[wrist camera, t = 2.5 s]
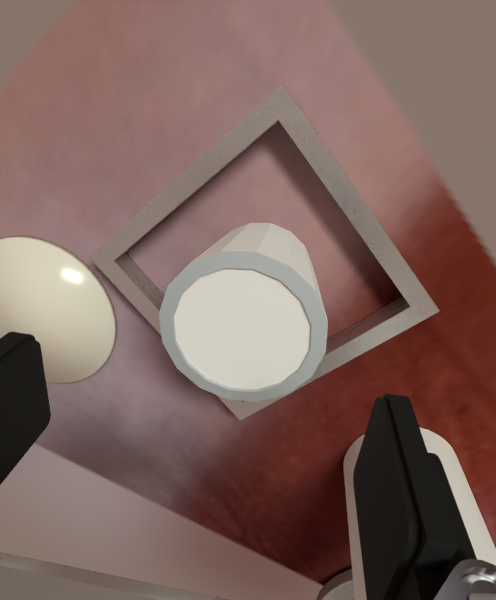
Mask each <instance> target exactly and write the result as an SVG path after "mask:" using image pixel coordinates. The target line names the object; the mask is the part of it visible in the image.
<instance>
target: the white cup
mask: <svg viewBox="0 0 496 600" xmlns="http://www.w3.org/2000/svg"><path fill="white" fill-rule="evenodd" d="M159 320H160V328H161V337H162V343H163V345H164V346H165V348H166V350H167V352H168V354H169V355H170V357H171V359H172V361H173V362H174V364H175V366H176V368H177V369H178V370H179V371H181V372H182V373H183V374H184V375H185V376H186V377H188V378H189V379H190V380H191V381H192V382H193V383H195V384H196V385H197V386H198V387H199V388H201V389H204V390H206V391H208V392H211V393H213V394H216V395H218V396H221V397H223V398H225V399H228V400H240V401H253V402H260V401H264V400H268V399H272V398H276V397H279V396H283V395H287V394H289V393H290V392H292V391H293V390H294V389H296V388H297V387H298V386H300V385H301V384H303V383H304V382H305V381H307V380H308V379H309V378H311V377H312V375H313V373H314V372H315V370H316V368H317V366H318V365H319V363H320V361H321V359H322V358H323V356H324V354H325V352H326V342H327V327H328V320H327V317H326V313H325V309H324V306H323V302H322V299H321V295H320V291H319V288H318V284H317V281H316V277H315V273H314V270H313V266H312V263H311V261H310V258H309V255H308V253H307V250H306V248H305V246H304V245H303V244H302V243H301V242H300V241H299V240H298V239H297V238H296V237H295V236H294V235H293V234H292V233H291V232H290V231H288V230H286V229H283V228H281V227H279V226H276V225H274V224H272V223H249V224H246V225H244V226H241V227H239V228H237V229H234V230H232V231H230V232H229V233H228V234H226V235H225V236H224V237H223V238H221V239H220V240H219V241H217V242H216V243H215V244H214V245H212V246H211V247H210V248H209V249H207V250H206V251H205V252H203V253H202V254H201V255H200V256H198V257H197V258H196V259H194V260H193V261H192V262H191V263H189V264H188V265H187V266H186V267H185V269H184V270H183V271H182V272H181V273H180V274H179V275H178V276H177V277H176V278H175V279H174V280H173V281H172V282H171V283H170V284H169V285H168V287H167V290H166V293H165V296H164V299H163V302H162V305H161V308H160V311H159Z"/></svg>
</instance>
